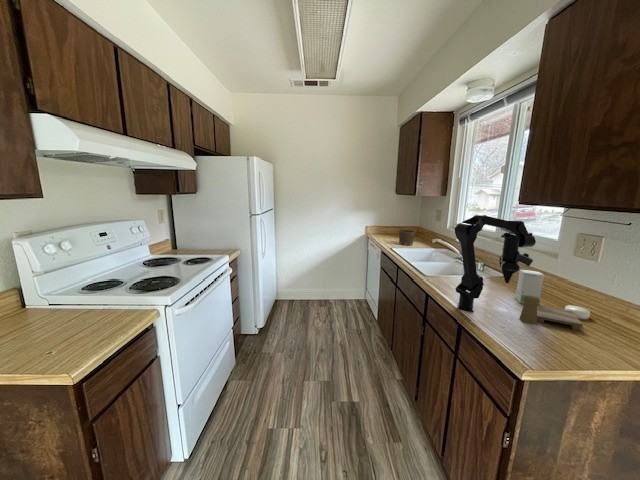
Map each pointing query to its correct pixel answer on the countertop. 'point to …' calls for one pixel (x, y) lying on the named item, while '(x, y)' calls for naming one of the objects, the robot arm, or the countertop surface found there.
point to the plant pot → (406, 237)
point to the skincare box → (529, 285)
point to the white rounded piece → (578, 311)
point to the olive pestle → (530, 310)
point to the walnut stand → (558, 316)
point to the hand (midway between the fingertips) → (506, 280)
